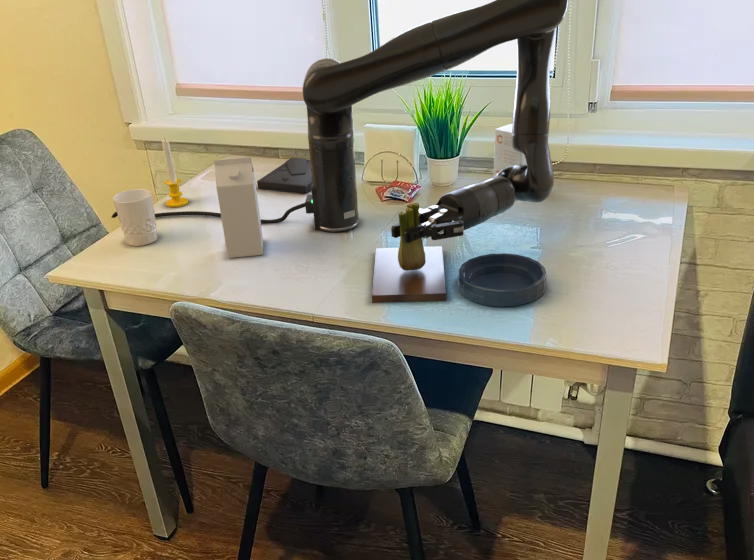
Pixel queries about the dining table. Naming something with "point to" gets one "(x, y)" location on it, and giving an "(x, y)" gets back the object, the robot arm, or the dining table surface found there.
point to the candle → (172, 179)
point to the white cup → (136, 216)
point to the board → (408, 278)
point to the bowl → (502, 279)
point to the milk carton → (239, 207)
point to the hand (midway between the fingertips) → (399, 234)
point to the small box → (506, 150)
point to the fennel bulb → (413, 252)
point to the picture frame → (289, 177)
